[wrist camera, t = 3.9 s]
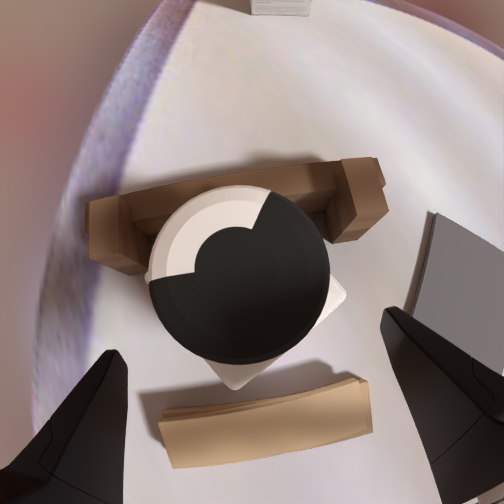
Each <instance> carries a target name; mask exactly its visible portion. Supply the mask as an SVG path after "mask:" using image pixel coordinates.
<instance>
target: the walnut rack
mask: <svg viewBox="0 0 504 504" xmlns="http://www.w3.org/2000/svg"><path fill="white" fill-rule="evenodd" d="M233 185H248V186H254V187H260V188H264V189H267V190H271V191H273V192H275V193H278V194H280V195H282V196H284V197H286V198H287V199H289V200H290V201H292V202H293V203H295V204H296V205H297V206H298V207H300V208H301V209H302V210H303V211H304V212H305V213H306V214H311V213H318V212H325V215H326V219H327V223H328V227H329V232H330V236H331V241H332V244H335V243H341V242H347V241H353V240H358V239H359V238H360V237H361V236H362V235H363V234H364V233H366V232H367V231H368V230H369V229H370V228H371V227H372V226H373V225H374V224H376V223H377V222H378V221H379V220H380V219H381V218H382V217H383V216H384V215H385V214H386V213H388V212H389V210H388V206H387V203H386V199H385V196H384V193H383V190H382V188H383V187H384V186H385V185H386V183H385V180H384V177H383V174H382V171H381V168H380V165H379V162H378V159H377V158H372V157H364V158H350V159H341V160H340V161H329V162H319V163H309V164H300V165H291V166H283V167H275V168H267V169H260V170H253V171H246V172H239V173H233V174H226V175H220V176H214V177H208V178H202V179H197V180H191V181H186V182H181V183H175V184H170V185H165V186H160V187H156V188H151V189H146V190H141V191H137V192H132V193H128V194H124V195H114V196H110V197H106V198H102V199H98V200H94V201H90V203H87V204H86V212H85V232H87V233H89V259H92V260H94V261H96V262H99V263H101V264H103V265H105V266H108V267H110V268H112V269H115V270H117V271H120V272H122V273H124V274H127V275H136V274H142V273H146V272H147V271H148V268H149V261H150V256H151V252H152V242H151V239H153V238H157V236H158V234H159V232H160V231H161V229H162V227H163V226H164V224H165V223H166V222H167V220H168V219H169V218H170V217H171V215H172V214H173V213H174V212H176V211H177V210H178V209H179V208H180V207H181V206H182V205H184V204H185V203H186V202H188V201H189V200H190V199H192V198H194V197H196V196H198V195H200V194H202V193H204V192H207V191H209V190H212V189H216V188H220V187H224V186H233Z"/></svg>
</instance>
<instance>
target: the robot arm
mask: <svg viewBox="0 0 504 504" xmlns="http://www.w3.org/2000/svg"><path fill="white" fill-rule="evenodd" d="M380 331H381V334H382V337H383V340H384V343H385V346H386V350H387V353H388V356H389V359H390V363H391V366H392V369H393V371H394V374H395V376H396V378H397V381H398V383H399V385H400V388H401V390H402V392H403V395H404V397H405V400H406V402H407V405H408V407H409V410H410V412H411V415H412V417H413V420H414V422H415V425H416V427H417V430H418V433H419V435H420V438H421V441H422V444H423V446H424V449H425V452H426V455H427V458H428V460H429V463H430V467H431V470H432V473H433V476H434V479H435V482H436V485H437V488H438V491H439V494H440V498H441V501H442V504H463V503H465V502H467V501H469V500H471V499H473V498H475V497H477V499H478V502H477V503H476V504H504V376H502V375H500V374H499V373H497V372H495V371H493V370H492V369H490V368H489V367H487V366H485V365H484V364H482V363H481V362H479V361H478V360H476V359H475V358H474V357H471V355H469V354H468V353H466V352H465V351H463V350H462V349H460V348H459V347H457V346H456V345H454V344H453V343H451V342H450V341H448V340H447V339H445V338H444V337H442V336H441V335H439V334H438V333H436V332H435V331H433V330H432V329H430V328H429V327H427V326H426V325H424V324H423V323H421V322H420V321H418V320H417V319H415V318H413V317H412V316H410V315H409V314H407V313H406V312H404V311H403V310H401V309H400V308H398V307H396V306H392V307H388V308H385V309H384V311H383V315H382V319H381V324H380ZM127 411H128V368H127V364H126V363H125V361H124V359H123V358H122V356H121V355H120V353H119V352H118V351H117V350H115V349H113V350H106V351H105V352H104V353H103V354H102V355H101V356H100V357H99V358H98V360H97V361H96V362H95V363H94V364H93V366H92V367H91V368H90V369H89V370H88V372H87V373H86V374H85V375H84V376H83V378H82V379H81V380H80V381H79V382H78V384H77V385H76V386H75V387H74V389H73V390H72V391H71V392H70V393H69V395H68V396H67V397H66V398H65V400H64V401H63V402H62V403H61V405H60V406H59V407H58V408H57V410H56V411H55V412H54V413H53V415H52V416H51V417H50V420H48V421H47V422H46V424H45V425H44V426H43V427H42V429H41V430H40V431H39V432H38V434H37V435H36V436H35V437H34V438H33V439H32V440H31V442H30V443H29V444H28V445H27V446H26V447H25V448H24V449H23V450H22V451H21V452H20V454H19V455H18V456H17V457H16V458H15V459H14V460H13V461H12V462H11V463H10V464H9V465H8V466H7V467H5V468H3V469H1V470H0V504H123V473H124V451H125V435H126V423H127Z"/></svg>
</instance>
